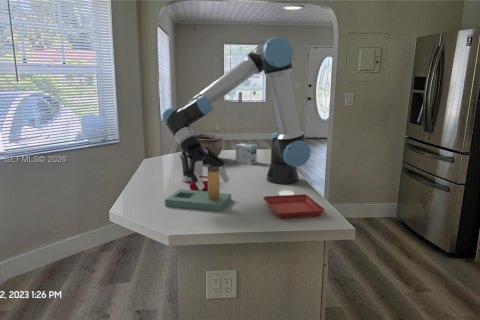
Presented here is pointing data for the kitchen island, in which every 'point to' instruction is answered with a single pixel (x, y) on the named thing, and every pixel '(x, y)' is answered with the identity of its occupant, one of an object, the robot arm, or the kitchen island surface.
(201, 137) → the ceramic bowl
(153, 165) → the kitchen island surface
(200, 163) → the photo printer
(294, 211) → the plant saucer
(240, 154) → the light bulb box
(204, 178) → the alarm clock
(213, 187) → the plug
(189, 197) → the socket board
